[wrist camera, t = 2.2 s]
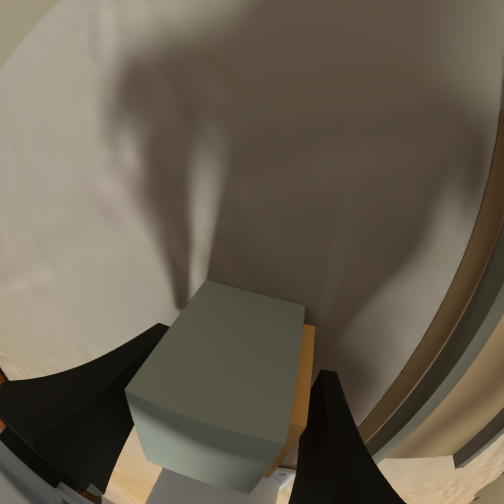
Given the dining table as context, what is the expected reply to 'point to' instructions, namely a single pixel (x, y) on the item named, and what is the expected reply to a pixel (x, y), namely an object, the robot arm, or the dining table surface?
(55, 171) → the dining table surface
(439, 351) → the jaw track
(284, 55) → the dining table surface
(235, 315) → the block
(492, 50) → the dining table surface
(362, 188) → the dining table surface
